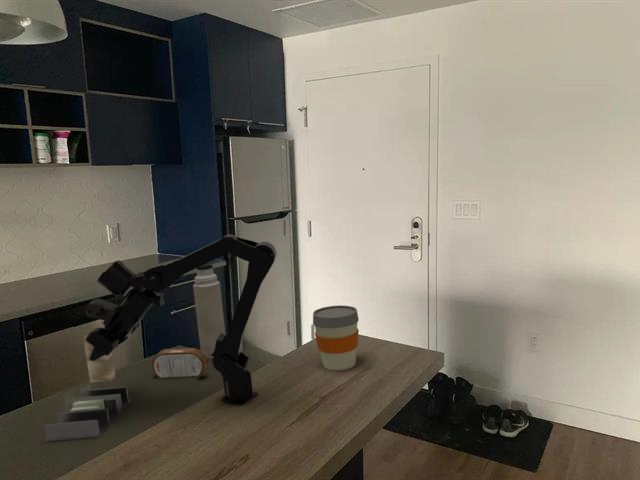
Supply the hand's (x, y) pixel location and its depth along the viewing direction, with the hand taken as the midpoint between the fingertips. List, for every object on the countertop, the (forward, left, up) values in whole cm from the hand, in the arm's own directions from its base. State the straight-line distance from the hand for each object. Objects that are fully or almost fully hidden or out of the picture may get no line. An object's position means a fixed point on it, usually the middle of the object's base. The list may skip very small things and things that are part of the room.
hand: (93, 357), depth 119 cm
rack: (-4, +5, -13) cm, 15 cm away
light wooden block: (-1, -1, -6) cm, 6 cm away
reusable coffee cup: (-38, -48, -14) cm, 63 cm away
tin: (-3, -22, -14) cm, 26 cm away
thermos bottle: (+3, -40, -14) cm, 42 cm away
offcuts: (-4, +5, -12) cm, 14 cm away
